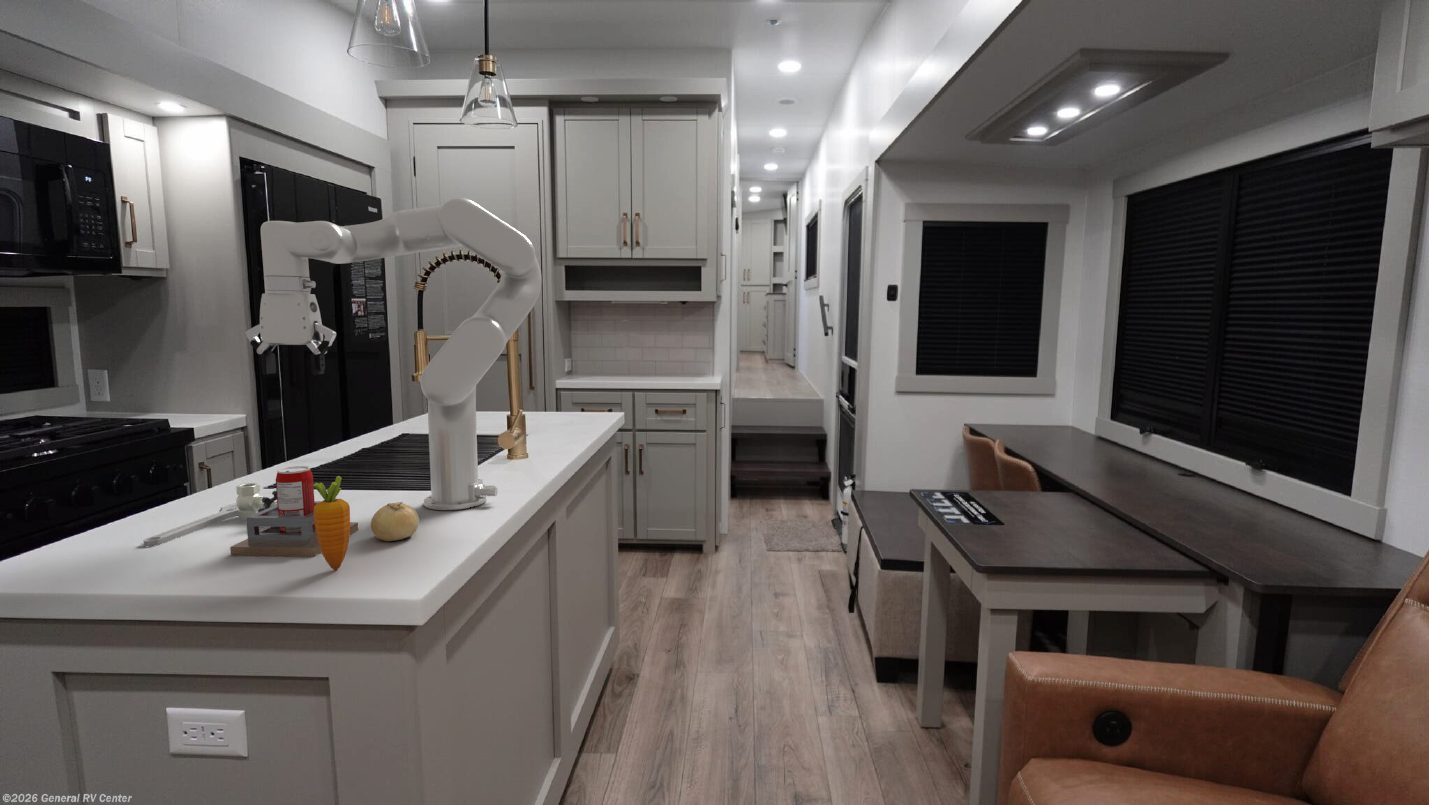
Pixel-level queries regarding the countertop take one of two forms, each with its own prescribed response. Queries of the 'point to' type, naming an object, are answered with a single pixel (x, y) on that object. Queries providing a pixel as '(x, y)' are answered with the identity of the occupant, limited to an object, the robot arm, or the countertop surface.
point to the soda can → (294, 494)
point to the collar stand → (280, 535)
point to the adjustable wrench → (193, 526)
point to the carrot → (332, 524)
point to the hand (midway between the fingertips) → (293, 374)
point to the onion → (394, 522)
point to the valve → (252, 500)
